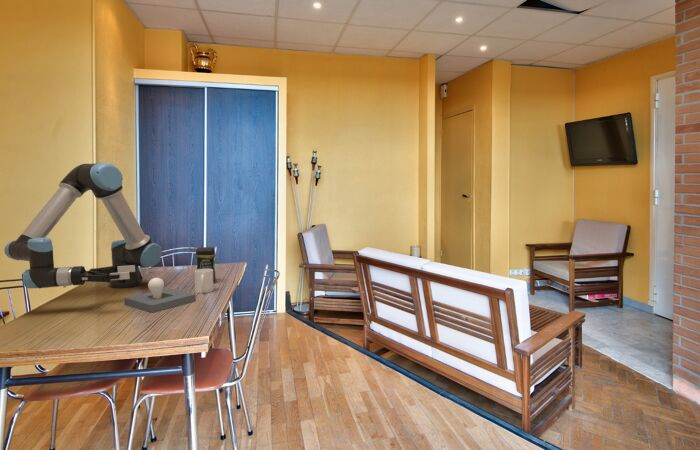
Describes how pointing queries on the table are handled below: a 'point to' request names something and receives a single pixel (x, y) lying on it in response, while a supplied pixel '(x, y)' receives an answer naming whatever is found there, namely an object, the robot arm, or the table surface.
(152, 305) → the socket plate
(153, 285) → the lightbulb
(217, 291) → the table surface
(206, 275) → the cup
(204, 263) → the coffee jar
